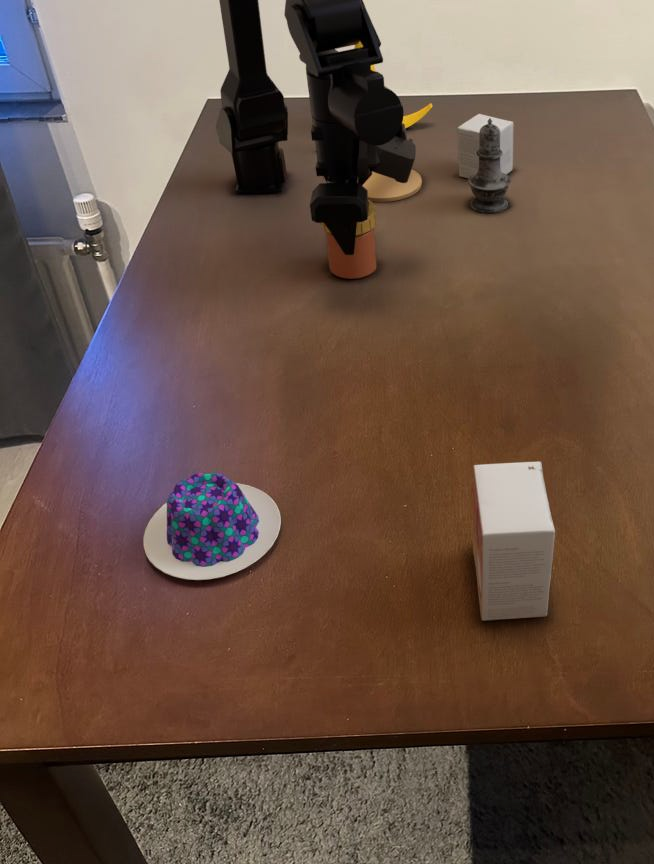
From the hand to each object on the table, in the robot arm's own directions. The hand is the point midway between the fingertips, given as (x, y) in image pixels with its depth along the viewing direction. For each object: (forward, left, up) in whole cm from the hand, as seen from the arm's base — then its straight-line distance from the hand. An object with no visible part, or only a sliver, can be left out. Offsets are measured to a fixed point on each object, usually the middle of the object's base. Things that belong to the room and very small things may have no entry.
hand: (351, 241), depth 110 cm
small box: (+16, -53, -4) cm, 56 cm away
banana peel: (+2, +45, -4) cm, 45 cm away
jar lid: (0, 0, +4) cm, 4 cm away
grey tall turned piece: (+18, +17, -4) cm, 25 cm away
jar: (0, 0, -4) cm, 4 cm away
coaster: (+3, +24, -4) cm, 24 cm away
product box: (+18, +27, -4) cm, 33 cm away
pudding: (-10, -46, -4) cm, 47 cm away
